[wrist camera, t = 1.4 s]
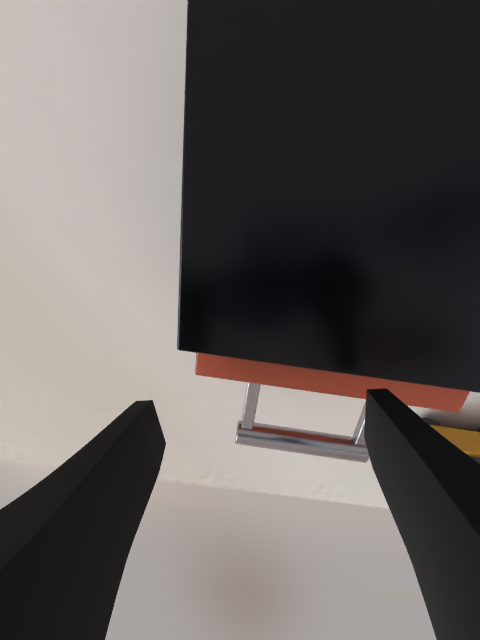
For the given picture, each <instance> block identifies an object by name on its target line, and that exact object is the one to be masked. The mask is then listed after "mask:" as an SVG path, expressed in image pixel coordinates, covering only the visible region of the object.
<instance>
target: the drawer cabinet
mask: <svg viewBox="0 0 480 640" xmlns="http://www.w3.org/2000/svg"><path fill="white" fill-rule="evenodd" d="M177 349H178V350H182V351H189V352H196V353H203V354H210V355H217V356H224V357H232V358H239V359H246V360H253V361H260V362H267V363H274V364H281V365H288V366H295V367H302V368H309V369H316V370H323V371H331V372H338V373H345V374H352V375H359V376H366V377H373V378H380V379H387V380H394V381H401V382H408V383H415V384H422V385H430V386H437V387H444V388H451V389H458V390H465V391H472V392H479V393H480V0H188V8H187V41H186V73H185V106H184V139H183V172H182V205H181V238H180V271H179V303H178V336H177Z"/></svg>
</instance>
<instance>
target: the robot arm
mask: <svg viewBox="0 0 480 640" xmlns="http://www.w3.org/2000/svg"><path fill="white" fill-rule="evenodd" d="M364 439H365V443H366V446H367V450H368V453H369V457H370V460H371V463H372V467H373V470H374V472H375V474H376V477H377V479H378V482H379V484H380V487H381V489H382V491H383V494H384V496H385V499H386V501H387V503H388V506H389V508H390V510H391V513H392V515H393V518H394V520H395V522H396V525H397V527H398V529H399V532H400V534H401V537H402V539H403V541H404V544H405V546H406V548H407V551H408V554H409V557H410V559H411V562H412V564H413V567H414V570H415V573H416V576H417V579H418V583H419V586H420V588H421V592H422V595H423V598H424V601H425V604H426V607H427V610H428V613H429V616H430V620H431V623H432V626H433V629H434V632H435V636H436V639H437V640H480V464H479V463H478V462H477V461H475V460H474V459H473V458H471V457H470V456H469V455H467V454H466V453H465V452H463V451H462V450H460V449H459V448H458V447H457V446H455V445H454V444H453V443H451V442H450V441H449V440H447V439H446V438H445V437H444V436H443V435H441V434H440V433H439V432H438V431H436V430H435V429H434V428H433V427H431V426H430V425H429V424H428V423H427V422H425V421H424V420H423V419H422V418H421V417H419V416H418V415H417V414H416V413H415V412H414V411H412V410H411V409H410V408H409V407H408V406H407V405H406V404H404V403H403V402H402V401H401V400H400V399H399V398H397V397H396V396H395V395H394V394H393V393H392V392H390V391H389V390H388V389H387V388H382V389H367V392H366V409H365V427H364ZM165 445H166V442H165V439H164V436H163V432H162V429H161V426H160V423H159V419H158V416H157V413H156V410H155V406H154V403H153V400H148V401H136V402H134V403H133V404H132V405H131V406H130V407H128V408H127V409H126V410H125V411H124V412H123V413H121V414H120V415H119V416H118V417H117V418H116V419H115V420H114V421H112V422H111V423H110V424H109V425H108V426H107V427H106V428H105V429H103V430H102V431H101V432H100V433H99V434H98V435H97V436H96V437H94V438H93V439H92V440H91V441H90V442H89V443H88V444H86V445H85V446H84V447H83V448H82V449H80V450H79V451H78V452H77V453H76V454H74V455H73V456H72V457H71V458H69V459H68V460H67V461H66V462H65V463H63V464H62V465H61V466H60V467H58V468H57V469H56V470H55V471H54V472H52V473H51V474H50V475H49V476H47V477H46V478H44V479H43V480H42V481H40V482H39V483H38V484H36V485H35V486H34V487H32V488H31V489H30V490H28V491H27V492H25V493H24V494H23V495H21V496H20V497H18V498H17V499H16V500H14V501H13V502H11V503H10V504H8V505H7V506H5V507H4V508H2V509H1V510H0V640H105V637H106V633H107V629H108V625H109V622H110V618H111V614H112V610H113V607H114V603H115V599H116V595H117V591H118V588H119V585H120V581H121V578H122V574H123V571H124V567H125V563H126V560H127V557H128V554H129V551H130V549H131V546H132V543H133V540H134V537H135V534H136V532H137V530H138V527H139V524H140V521H141V519H142V516H143V514H144V511H145V509H146V506H147V503H148V501H149V498H150V495H151V493H152V490H153V487H154V485H155V482H156V479H157V476H158V474H159V470H160V466H161V462H162V458H163V454H164V450H165Z"/></svg>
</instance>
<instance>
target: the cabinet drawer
mask: <svg viewBox="0 0 480 640" xmlns="http://www.w3.org/2000/svg"><path fill="white" fill-rule="evenodd" d="M195 374H196V375H201V376H208V377H215V378H222V379H229V380H236V381H242V382H248V385H247V391H246V398H245V404H244V411H243V417H242V421H240V420H239V421H238V425H237V432H236V440H235V443H236V444H242V445H248V446H255V447H262V448H269V449H276V450H282V451H289V452H296V453H303V454H310V455H316V456H323V457H330V458H337V459H343V460H350V461H357V462H364V463H365V462H367V461H368V459H369V453H368V450H367V446H366V443H365V439H364V427H365V409H366V402H365V405H364V407H363V410H362V413H361V415H360V418H359V420H358V423H357V426H356V428H355V431H354V434H353V437H350V436H343V435H336V434H329V433H323V432H316V431H309V430H302V429H295V428H288V427H281V426H275V425H268V424H261V423H254V418H255V413H256V407H257V401H258V396H259V390H260V385H261V384H263V385H270V386H277V387H284V388H291V389H298V390H305V391H312V392H319V393H326V394H333V395H340V396H347V397H354V398H361V399H366V392H367V389H382V388H387V389H388V390H389V391H390V392H392V393H393V394H394V395H395V396H396V397H397V398H399V399H400V400H401V401H402V402H403V403H404V404H406V405H410V406H417V407H424V408H431V409H438V410H445V411H452V412H459V410H460V409H461V407H462V405H463V403H464V401H465V400H466V398H467V396H468V394H469V392H470V391H465V390H458V389H451V388H444V387H437V386H430V385H422V384H415V383H408V382H401V381H394V380H387V379H380V378H373V377H366V376H359V375H352V374H345V373H338V372H331V371H323V370H316V369H309V368H302V367H295V366H288V365H281V364H274V363H267V362H260V361H253V360H246V359H239V358H232V357H224V356H217V355H210V354H203V353H196V368H195Z"/></svg>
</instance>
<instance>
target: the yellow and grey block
mask: <svg viewBox="0 0 480 640" xmlns="http://www.w3.org/2000/svg"><path fill="white" fill-rule="evenodd" d="M422 419H423V420H424V421H425V422H427V423H428V424H429V425H430V426H431V427H433V428H434V429H435V430H436V431H438V432H439V433H440V434H441V435H443V436H444V437H445V438H446V439H447V440H449V441H450V442H451V443H453V444H454V445H455V446H457V447H458V448H459V449H460V450H462V451H463V452H465V453H466V454H467V455H469V456H470V457H471V458H473V459H474V460H475V461H477V462H478V463H479V464H480V432H476V431H469V430H462V429H455V428H448V427H443V426H442V425H441V424H439V423H438V422H436V421H434V420H432V419H429V418H422Z"/></svg>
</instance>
